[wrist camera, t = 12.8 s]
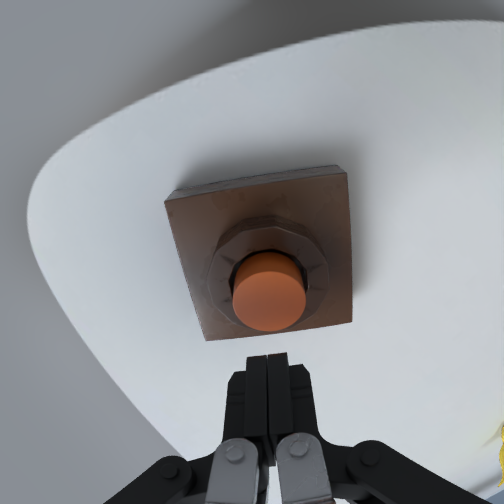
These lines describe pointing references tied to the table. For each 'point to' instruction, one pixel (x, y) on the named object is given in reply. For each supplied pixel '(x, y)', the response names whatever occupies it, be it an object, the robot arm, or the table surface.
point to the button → (268, 292)
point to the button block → (266, 243)
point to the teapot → (502, 457)
